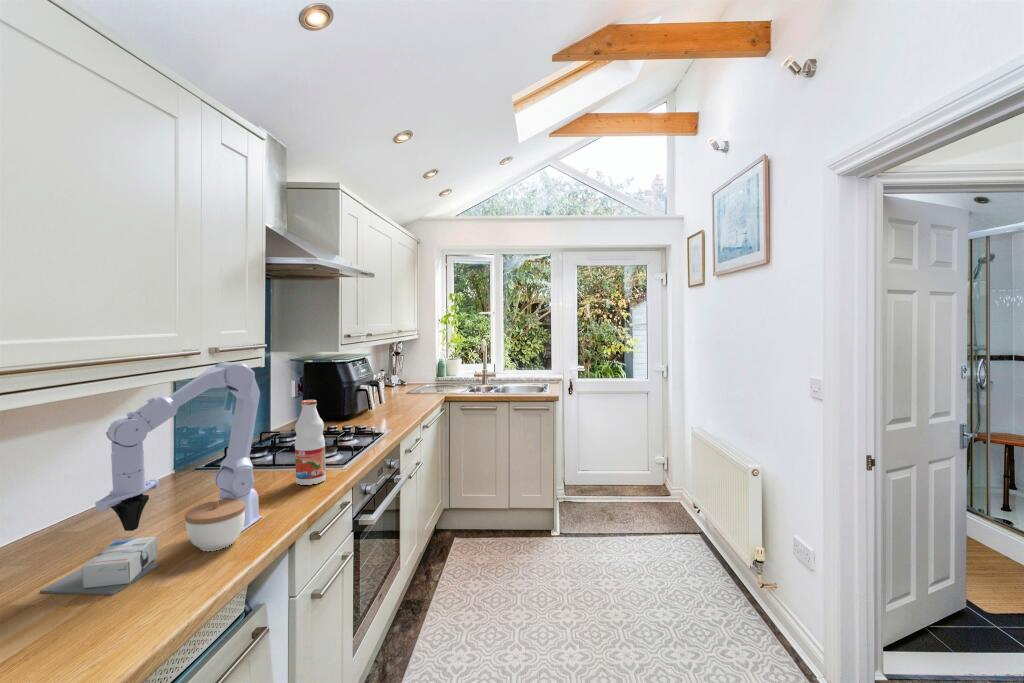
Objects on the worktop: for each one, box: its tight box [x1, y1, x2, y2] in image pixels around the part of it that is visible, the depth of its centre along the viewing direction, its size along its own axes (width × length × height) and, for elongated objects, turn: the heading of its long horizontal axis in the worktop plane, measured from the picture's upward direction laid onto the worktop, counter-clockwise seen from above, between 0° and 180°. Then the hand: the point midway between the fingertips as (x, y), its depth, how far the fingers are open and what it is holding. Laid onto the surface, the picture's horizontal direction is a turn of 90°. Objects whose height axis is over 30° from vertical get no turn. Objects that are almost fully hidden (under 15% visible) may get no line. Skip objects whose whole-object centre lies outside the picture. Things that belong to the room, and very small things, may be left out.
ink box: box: [81, 536, 158, 588], centre depth 102 cm, size 8×5×12 cm
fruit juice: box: [294, 399, 327, 486], centre depth 160 cm, size 9×9×28 cm
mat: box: [39, 562, 161, 596], centre depth 101 cm, size 12×16×1 cm
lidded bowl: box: [184, 499, 245, 553], centre depth 116 cm, size 13×13×11 cm
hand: (131, 529), depth 108 cm, fingers closed
